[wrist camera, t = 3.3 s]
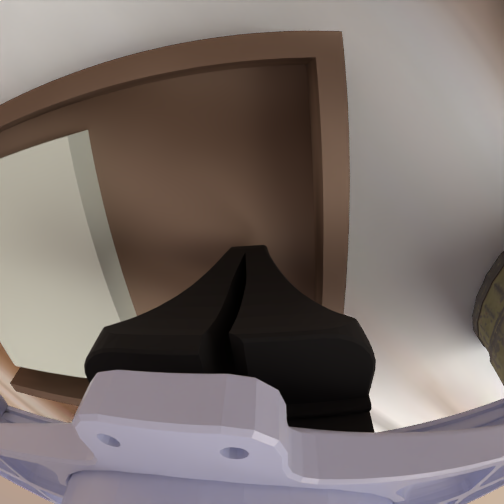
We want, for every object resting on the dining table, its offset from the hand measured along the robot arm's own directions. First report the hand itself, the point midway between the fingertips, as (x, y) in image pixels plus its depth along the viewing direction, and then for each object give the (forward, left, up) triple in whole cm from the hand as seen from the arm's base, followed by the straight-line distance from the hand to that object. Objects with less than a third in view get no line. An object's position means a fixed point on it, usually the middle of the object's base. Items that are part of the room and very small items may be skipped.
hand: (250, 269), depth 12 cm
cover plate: (0, +11, -1) cm, 11 cm away
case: (0, +8, -2) cm, 8 cm away
